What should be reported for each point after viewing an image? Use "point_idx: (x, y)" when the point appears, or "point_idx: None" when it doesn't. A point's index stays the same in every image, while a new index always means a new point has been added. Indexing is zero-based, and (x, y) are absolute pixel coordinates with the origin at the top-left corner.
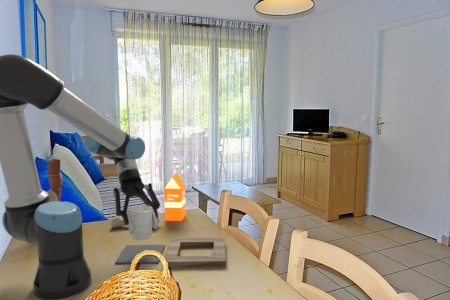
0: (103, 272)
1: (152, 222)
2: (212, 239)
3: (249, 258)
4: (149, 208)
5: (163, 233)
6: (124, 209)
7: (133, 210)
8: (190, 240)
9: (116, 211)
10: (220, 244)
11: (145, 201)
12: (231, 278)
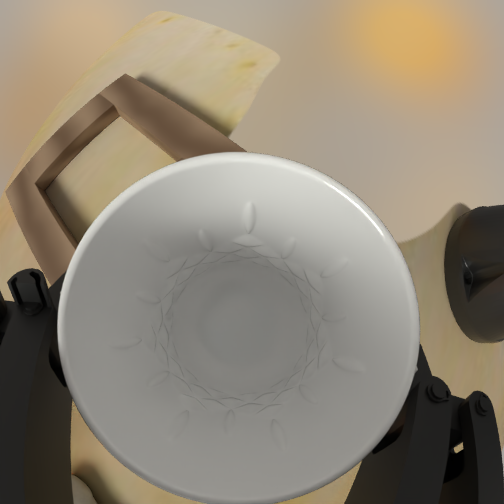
0: (412, 275)
1: (78, 495)
2: (24, 199)
3: (71, 95)
4: (85, 340)
5: (72, 427)
6: (440, 424)
7: (272, 466)
8: (56, 243)
9: (459, 453)
10: (44, 153)
11: (51, 471)
12: (169, 52)
